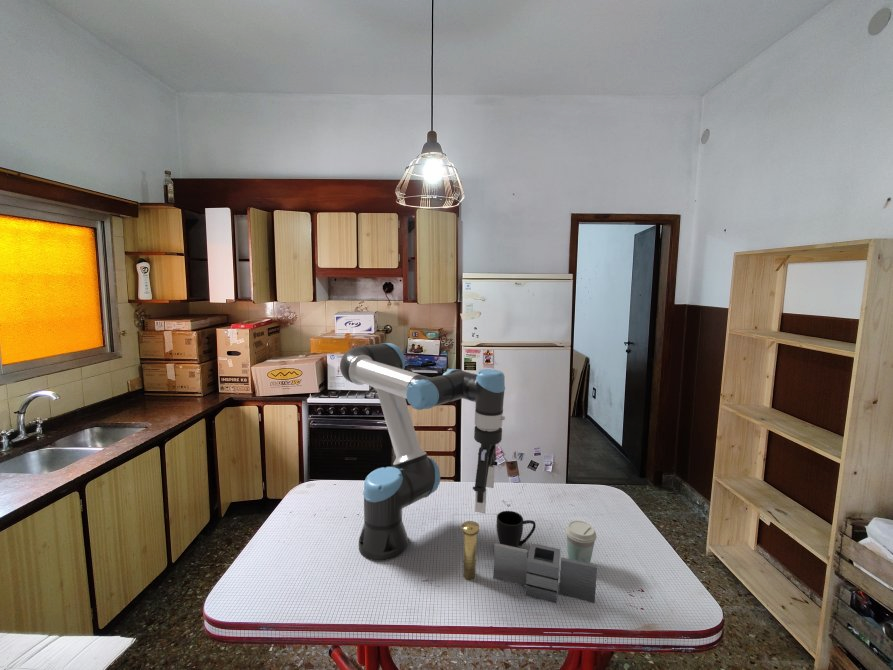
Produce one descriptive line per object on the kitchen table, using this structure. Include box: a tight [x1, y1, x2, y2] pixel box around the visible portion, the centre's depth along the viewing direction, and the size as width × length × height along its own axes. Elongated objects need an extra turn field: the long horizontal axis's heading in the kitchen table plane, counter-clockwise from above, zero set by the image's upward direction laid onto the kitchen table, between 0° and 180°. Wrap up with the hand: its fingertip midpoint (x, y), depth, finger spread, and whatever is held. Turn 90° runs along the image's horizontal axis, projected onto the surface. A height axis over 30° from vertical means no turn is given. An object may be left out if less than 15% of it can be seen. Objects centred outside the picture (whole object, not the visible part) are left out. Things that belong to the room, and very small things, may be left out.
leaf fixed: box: [525, 542, 598, 604], centre depth 109 cm, size 17×8×10 cm, turn 72°
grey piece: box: [492, 542, 561, 591], centre depth 112 cm, size 17×8×10 cm, turn 72°
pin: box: [461, 520, 480, 581], centre depth 114 cm, size 5×5×15 cm
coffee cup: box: [565, 519, 597, 564], centre depth 119 cm, size 8×8×12 cm
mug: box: [496, 510, 537, 548], centre depth 128 cm, size 8×12×10 cm
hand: (484, 498), depth 114 cm, fingers open, 13 cm apart
